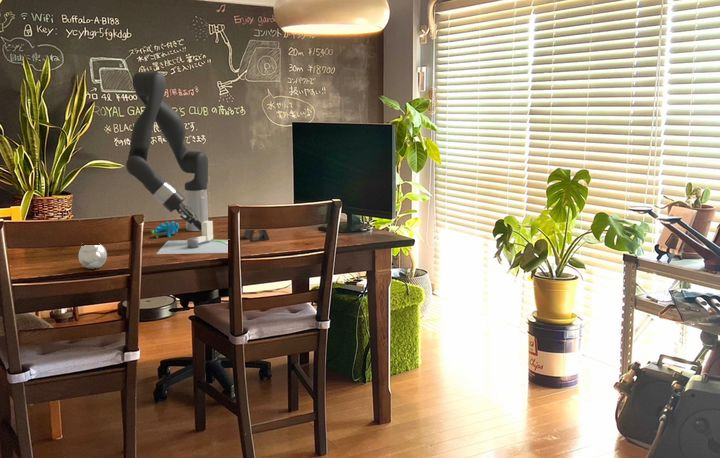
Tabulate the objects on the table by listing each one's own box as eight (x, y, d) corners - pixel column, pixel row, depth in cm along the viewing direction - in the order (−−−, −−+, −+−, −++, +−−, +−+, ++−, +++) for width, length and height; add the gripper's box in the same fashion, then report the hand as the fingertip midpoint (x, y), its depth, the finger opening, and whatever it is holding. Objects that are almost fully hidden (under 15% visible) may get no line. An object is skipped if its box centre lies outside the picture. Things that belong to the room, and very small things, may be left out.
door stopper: (247, 242, 280) (246, 211, 278) (242, 239, 285) (241, 209, 283) (269, 240, 284) (268, 210, 282) (264, 237, 289) (263, 208, 287)
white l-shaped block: (194, 248, 261) (193, 227, 260) (185, 247, 263) (184, 226, 261) (218, 240, 276) (217, 220, 275) (209, 239, 278) (208, 219, 276)
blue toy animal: (178, 231, 292) (178, 217, 284) (182, 243, 289) (183, 229, 281) (151, 237, 287) (150, 223, 279) (154, 249, 285) (154, 235, 277)
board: (168, 243, 277) (167, 239, 277) (236, 242, 279) (235, 238, 279) (156, 257, 253) (155, 253, 252) (230, 256, 255) (230, 251, 255)
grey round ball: (71, 270, 233) (69, 240, 232) (93, 264, 242) (91, 235, 240) (93, 273, 230) (90, 242, 228) (114, 267, 238) (112, 237, 237)
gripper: (172, 192, 263) (207, 224, 266) (178, 187, 276) (211, 219, 279) (158, 206, 263) (193, 238, 267) (165, 201, 276) (198, 232, 280)
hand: (202, 228), depth 273 cm, fingers closed
